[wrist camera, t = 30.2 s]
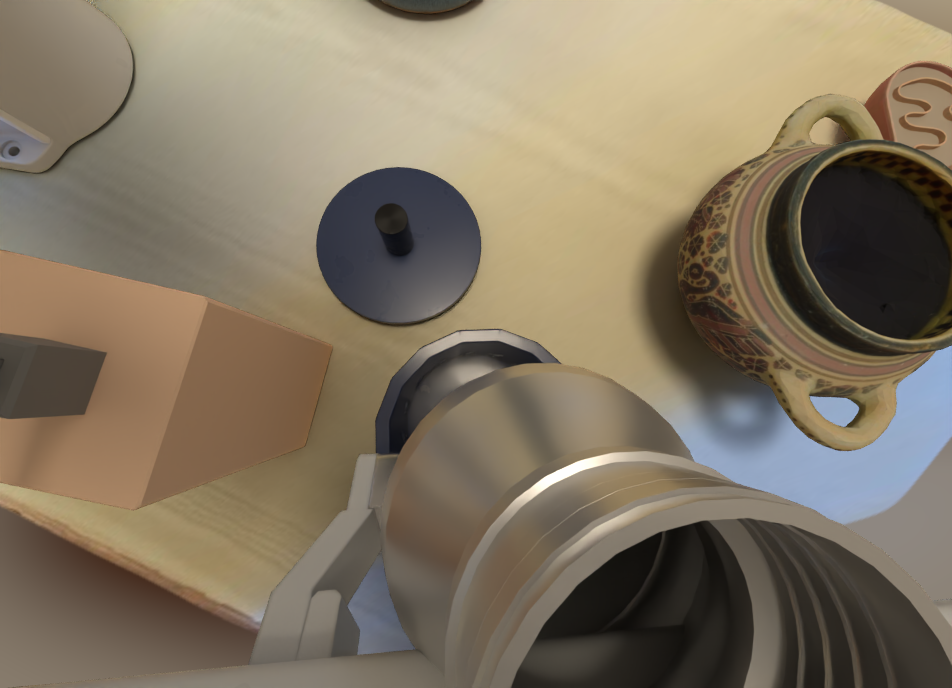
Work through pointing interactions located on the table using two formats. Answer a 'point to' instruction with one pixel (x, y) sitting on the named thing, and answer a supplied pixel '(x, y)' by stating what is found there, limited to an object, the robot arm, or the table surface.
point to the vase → (426, 5)
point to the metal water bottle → (630, 549)
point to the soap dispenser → (141, 385)
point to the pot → (446, 377)
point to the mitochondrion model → (916, 108)
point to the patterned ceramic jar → (825, 269)
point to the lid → (398, 245)
